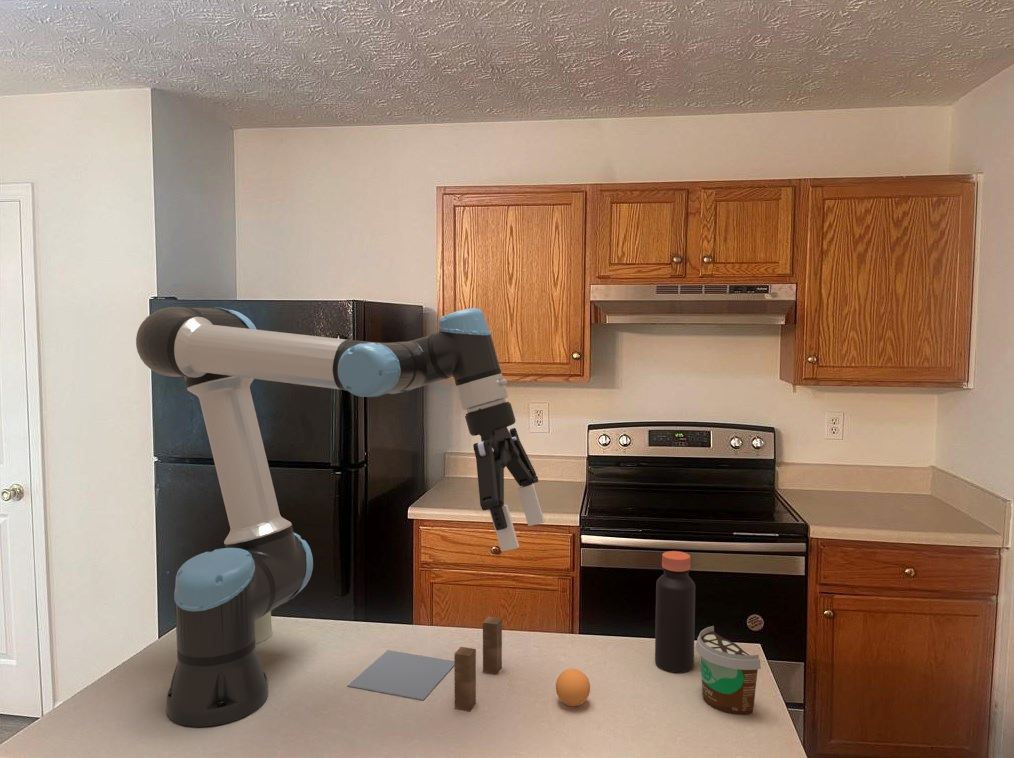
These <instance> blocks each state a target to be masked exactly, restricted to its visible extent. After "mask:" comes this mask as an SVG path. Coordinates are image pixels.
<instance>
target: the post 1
mask: <svg viewBox="0 0 1014 758" xmlns="http://www.w3.org/2000/svg"><path fill="white" fill-rule="evenodd" d="M453 661H454V667H453V668H454V671H453V673H454V709H455V710H458V711H465V712H469V713H470V712H471V711H472V710H473V709H474V707H475V705H476V704H477V694H476V693H477V649H476V648H471V647H464V646H460V647H459V648H458V649H457V651H455V652H454V660H453Z"/></svg>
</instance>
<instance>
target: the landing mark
mask: <svg viewBox="0 0 1014 758" xmlns="http://www.w3.org/2000/svg"><path fill="white" fill-rule="evenodd" d="M453 668H454V660H451V659H444V658H439V657H432V656H425V655H421V654H415V653H408V652H402V651H396V650H390V649H389V650H388V649H387V650H386V651H385V652H383V653H382V654H381V655H380V656H379V657H378V658H377V659H376V660H374V662H372V663H371V664H370V665H368V667H367V668H365V669H364V671H362V672H361V673H360V674H359V675H358V676H357V677H355V679H353V680H352V681H351V682H349V684H348V685H347V687H348V688H353V689H357V690H358V689H360V690H364V691H369V692H374V693H379V694H386V695H390V696H396V697H401V698H406V699H410V700H411V699H412V700H417V701H422V702H423V701H425V700H426V698H427V697H429V695H430V694H431V693H432V692H433V690H435V689H436V687H437V686H438V685H439V684H440V682H441V681H442V680H444V678H445V677H446V676H447V675H448V674H449V672H450V671H451V670H452V669H453Z"/></svg>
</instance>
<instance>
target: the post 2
mask: <svg viewBox="0 0 1014 758" xmlns="http://www.w3.org/2000/svg"><path fill="white" fill-rule="evenodd" d="M502 648H503V619H502V618H500V617H493V616H492V617H491V616H487V618H485V620H484V621H483V622H482V673H483V674H490V675H494V676H495V675H496V676H497V675H498V674H499V672H500V671H502V670H501V669H502V668H503V649H502Z"/></svg>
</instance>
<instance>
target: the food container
mask: <svg viewBox="0 0 1014 758" xmlns="http://www.w3.org/2000/svg"><path fill="white" fill-rule="evenodd" d="M695 651H696V652H697V654H698V655H699V659H700V674H701V676H700V677H701V689H702V691H701V692H702V699H703V701H704V702H705V704H706V705H707V706H708V707H710V708H712V709H713V710H716V711H718V712H721V713H725V714H729V715H734V716H735V715H736V716H746V715H747V716H750V715H753V714H754V707H755V699H756V698H755V697H756V687H757V679H758V670H761V669H762V667H761V659H760V655H759V653H758V654H749V653H747V652H746V651H745V650H744V649H742V648H741V647H740V646H739V645H738V644H737V643H735V642H733V641H731V640H729V639H727V638H724V637H722V636H721V635H719V634H718V633H716V632H715V626H714V625H712V626H707V627H706V628H704V629H702V630H701V631H700V632H699V635H698V637H697V640H696V644H695Z"/></svg>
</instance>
